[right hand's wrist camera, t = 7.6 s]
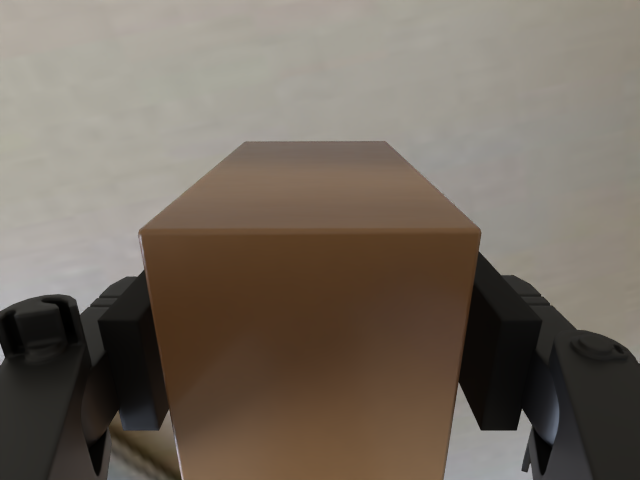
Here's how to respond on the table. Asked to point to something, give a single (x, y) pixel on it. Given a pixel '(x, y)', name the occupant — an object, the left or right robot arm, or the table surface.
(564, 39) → the table surface
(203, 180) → the bar
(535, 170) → the table surface
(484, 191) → the table surface
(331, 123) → the table surface
